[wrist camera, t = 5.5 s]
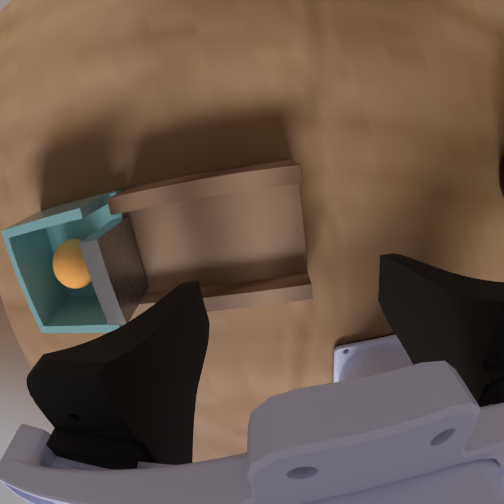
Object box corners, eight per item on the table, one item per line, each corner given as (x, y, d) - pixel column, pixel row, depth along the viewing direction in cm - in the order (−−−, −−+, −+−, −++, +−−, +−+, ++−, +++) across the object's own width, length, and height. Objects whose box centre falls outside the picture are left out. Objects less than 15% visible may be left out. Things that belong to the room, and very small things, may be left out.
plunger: (128, 215, 18) (97, 240, 14) (149, 287, 20) (126, 324, 16) (112, 219, 18) (78, 243, 14) (133, 289, 20) (109, 325, 16)
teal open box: (123, 188, 19) (88, 206, 15) (151, 292, 22) (129, 331, 18) (40, 210, 20) (1, 231, 15) (70, 300, 23) (42, 333, 18)
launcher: (292, 159, 19) (300, 164, 15) (304, 273, 22) (312, 298, 18) (128, 187, 19) (106, 198, 16) (156, 291, 22) (142, 317, 19)
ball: (99, 229, 19) (67, 248, 16) (113, 274, 21) (84, 298, 18) (68, 233, 20) (37, 251, 17) (82, 275, 22) (54, 296, 18)
